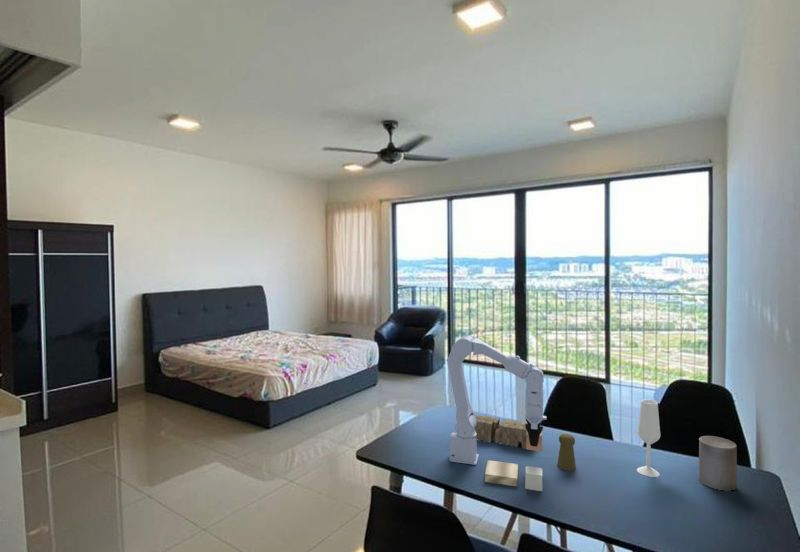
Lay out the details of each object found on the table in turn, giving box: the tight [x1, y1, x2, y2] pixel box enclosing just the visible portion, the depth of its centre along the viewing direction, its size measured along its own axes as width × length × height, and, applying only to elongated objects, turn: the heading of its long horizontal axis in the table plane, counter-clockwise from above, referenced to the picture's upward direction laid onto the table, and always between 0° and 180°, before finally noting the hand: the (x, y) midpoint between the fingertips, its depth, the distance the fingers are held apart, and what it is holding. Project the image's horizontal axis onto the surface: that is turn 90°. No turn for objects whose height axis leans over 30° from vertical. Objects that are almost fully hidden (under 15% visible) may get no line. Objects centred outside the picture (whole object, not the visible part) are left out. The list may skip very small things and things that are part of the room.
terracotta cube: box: [525, 431, 543, 452], centre depth 143 cm, size 5×5×5 cm
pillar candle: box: [698, 435, 738, 492], centre depth 135 cm, size 10×10×15 cm
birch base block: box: [484, 459, 519, 487], centre depth 139 cm, size 10×10×3 cm
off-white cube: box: [524, 465, 543, 492], centre depth 133 cm, size 5×5×5 cm
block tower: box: [474, 414, 527, 450], centre depth 168 cm, size 8×8×29 cm
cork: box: [557, 433, 577, 472], centre depth 146 cm, size 6×6×11 cm
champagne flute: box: [636, 398, 661, 478], centre depth 142 cm, size 7×7×24 cm
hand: (533, 442), depth 144 cm, fingers closed on terracotta cube, 5 cm apart
